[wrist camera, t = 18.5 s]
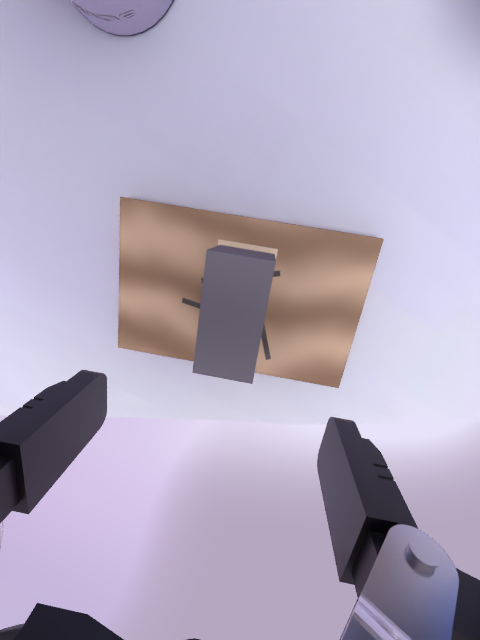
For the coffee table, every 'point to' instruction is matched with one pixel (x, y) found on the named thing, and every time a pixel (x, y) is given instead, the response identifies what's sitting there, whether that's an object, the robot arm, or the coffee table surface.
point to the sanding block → (233, 309)
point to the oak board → (285, 294)
